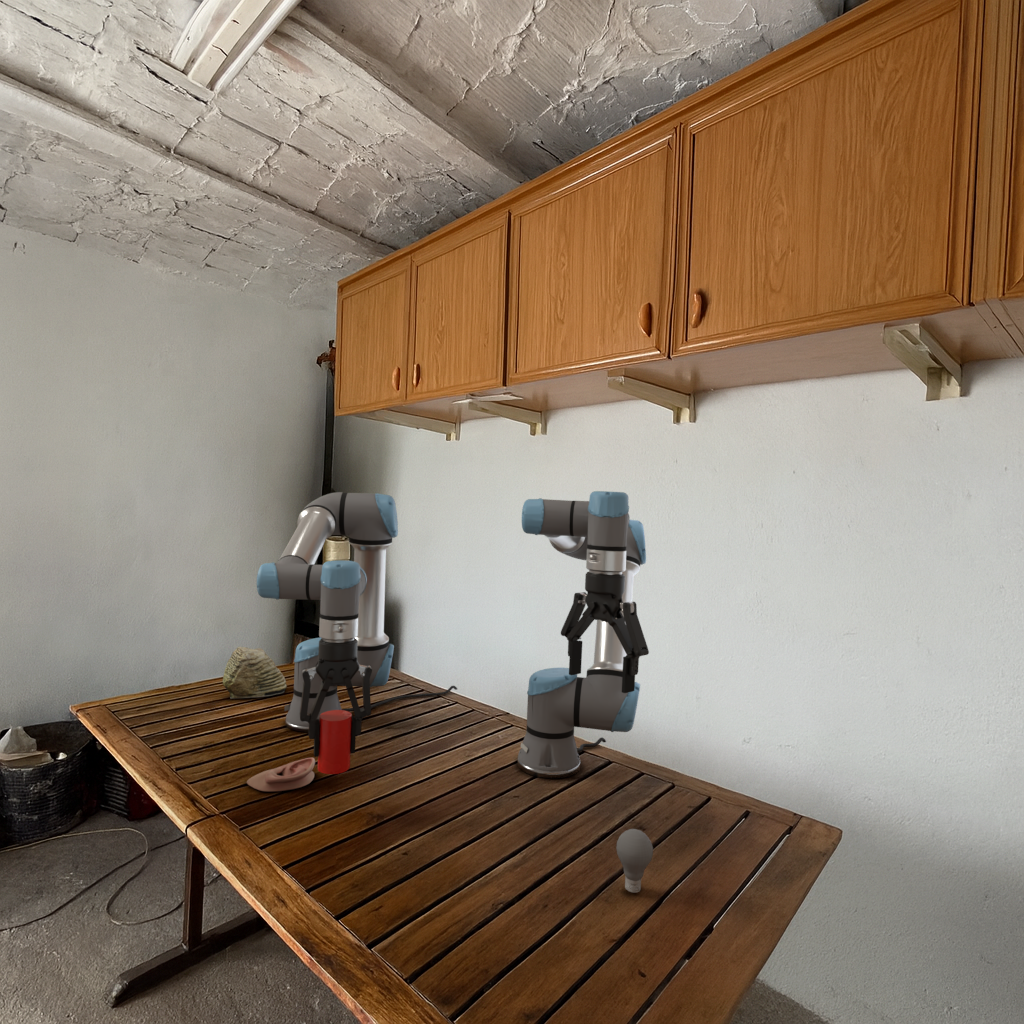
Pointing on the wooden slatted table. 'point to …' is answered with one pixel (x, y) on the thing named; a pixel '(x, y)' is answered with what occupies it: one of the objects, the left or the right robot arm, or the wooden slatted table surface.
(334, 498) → the left robot arm
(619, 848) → the light bulb
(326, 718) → the tin
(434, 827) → the wooden slatted table surface
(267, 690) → the fossil
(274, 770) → the anatomical model
